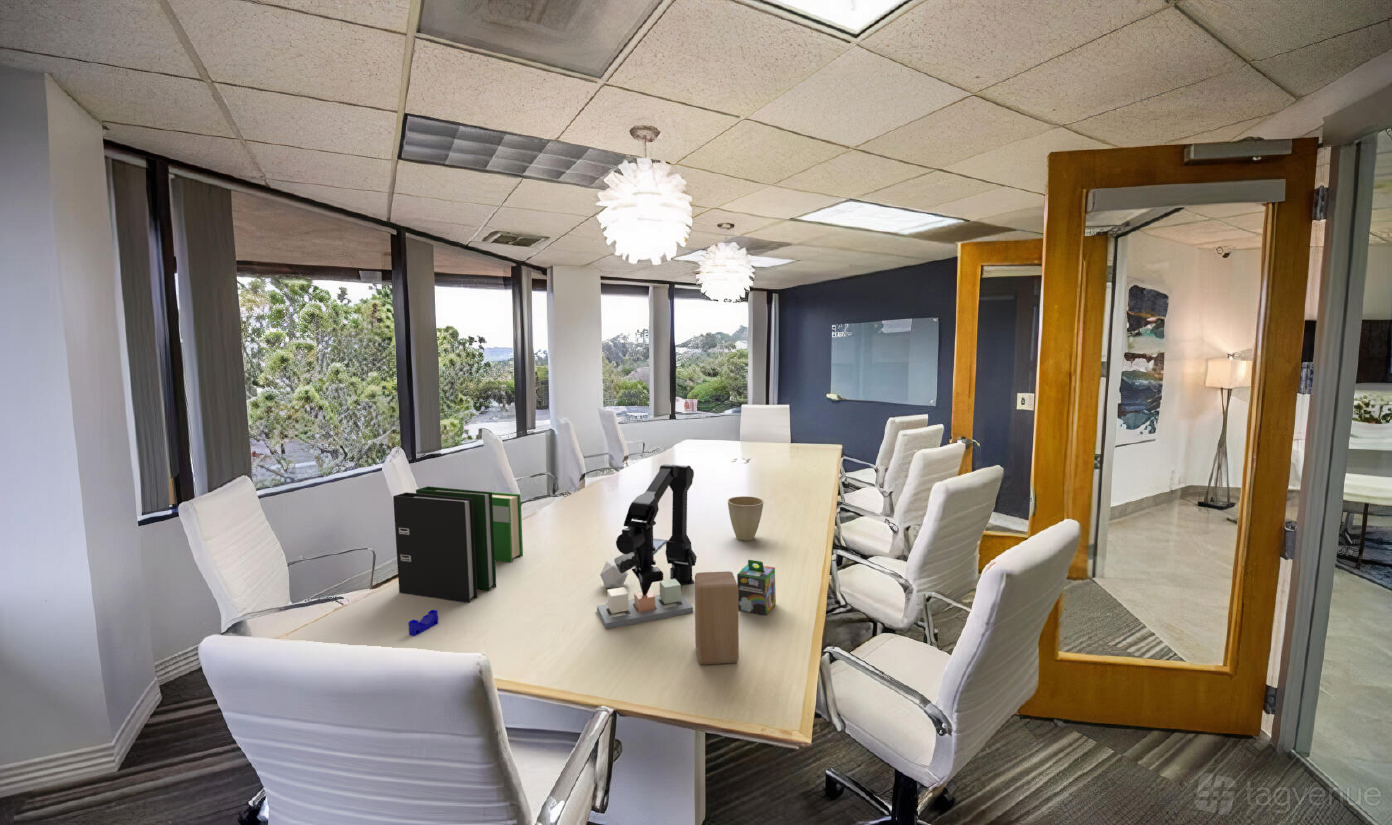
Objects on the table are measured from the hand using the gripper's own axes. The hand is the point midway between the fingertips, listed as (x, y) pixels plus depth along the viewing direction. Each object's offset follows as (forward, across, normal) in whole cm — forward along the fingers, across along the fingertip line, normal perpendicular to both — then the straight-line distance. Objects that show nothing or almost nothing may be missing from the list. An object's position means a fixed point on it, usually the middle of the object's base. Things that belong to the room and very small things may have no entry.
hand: (644, 594), depth 163 cm
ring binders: (+6, -40, -55) cm, 68 cm away
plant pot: (+6, -49, +58) cm, 76 cm away
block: (+6, +30, +10) cm, 32 cm away
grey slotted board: (+5, 0, 0) cm, 5 cm away
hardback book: (+6, -67, -39) cm, 78 cm away
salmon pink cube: (+5, 0, 0) cm, 5 cm away
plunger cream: (+3, 0, -8) cm, 8 cm away
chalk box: (+6, +10, +32) cm, 34 cm away
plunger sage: (+3, 0, +8) cm, 8 cm away
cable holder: (+6, -14, -61) cm, 62 cm away
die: (+6, -22, -4) cm, 23 cm away
